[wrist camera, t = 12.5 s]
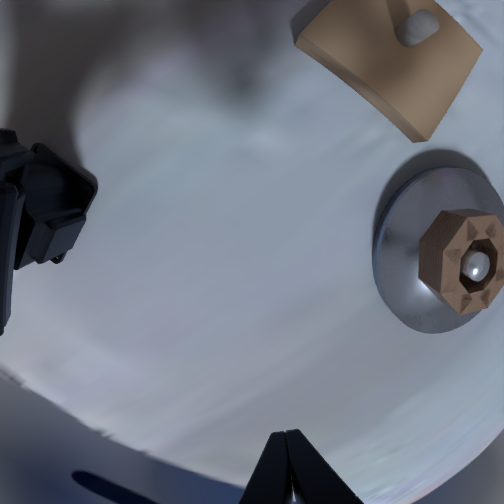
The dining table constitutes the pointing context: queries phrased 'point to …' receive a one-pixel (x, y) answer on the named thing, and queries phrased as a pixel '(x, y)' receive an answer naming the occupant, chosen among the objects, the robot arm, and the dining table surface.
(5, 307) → the robot arm
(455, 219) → the octagonal wooden ring
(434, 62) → the stand
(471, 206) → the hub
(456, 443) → the dining table surface
